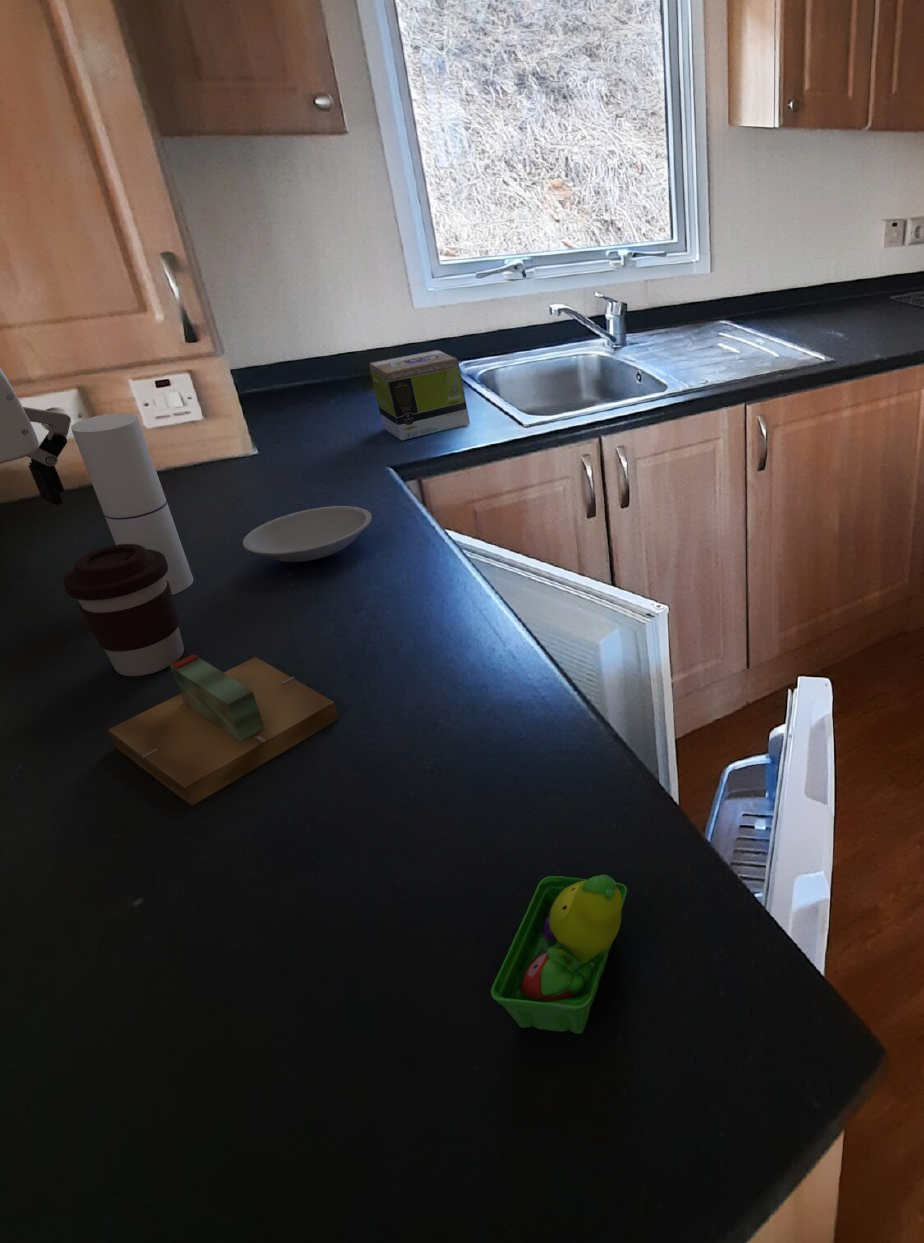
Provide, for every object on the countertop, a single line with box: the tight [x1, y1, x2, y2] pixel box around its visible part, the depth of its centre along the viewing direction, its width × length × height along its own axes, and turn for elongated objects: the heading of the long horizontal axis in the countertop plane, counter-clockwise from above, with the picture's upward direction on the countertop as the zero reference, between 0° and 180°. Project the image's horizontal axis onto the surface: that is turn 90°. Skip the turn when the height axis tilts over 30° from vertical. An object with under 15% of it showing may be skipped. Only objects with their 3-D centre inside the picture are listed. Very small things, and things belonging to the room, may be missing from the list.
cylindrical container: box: [70, 412, 194, 596], centre depth 118 cm, size 7×7×25 cm
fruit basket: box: [490, 874, 628, 1035], centre depth 68 cm, size 11×9×11 cm
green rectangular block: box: [169, 653, 265, 741], centre depth 94 cm, size 12×3×5 cm, turn 57°
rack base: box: [107, 656, 340, 807], centre depth 96 cm, size 16×16×3 cm
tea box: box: [368, 349, 471, 441], centre depth 180 cm, size 15×10×15 cm, turn 133°
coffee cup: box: [62, 544, 185, 677], centre depth 105 cm, size 10×10×15 cm
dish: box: [242, 505, 373, 563], centre depth 131 cm, size 18×14×5 cm
